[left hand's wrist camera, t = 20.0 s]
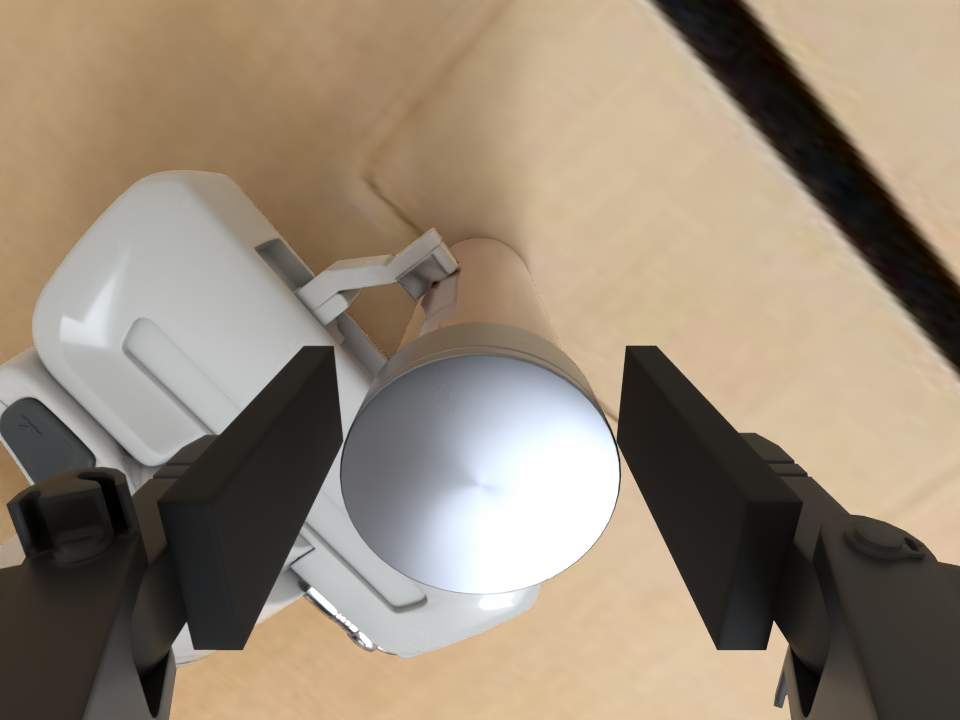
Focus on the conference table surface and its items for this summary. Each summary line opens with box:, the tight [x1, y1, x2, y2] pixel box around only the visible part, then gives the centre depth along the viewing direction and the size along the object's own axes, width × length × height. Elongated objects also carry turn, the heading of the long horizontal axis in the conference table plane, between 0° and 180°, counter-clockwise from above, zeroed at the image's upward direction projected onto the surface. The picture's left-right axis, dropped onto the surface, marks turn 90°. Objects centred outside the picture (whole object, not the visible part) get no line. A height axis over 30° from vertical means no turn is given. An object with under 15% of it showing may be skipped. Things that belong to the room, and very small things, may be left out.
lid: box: [340, 322, 621, 594], centre depth 11 cm, size 5×5×2 cm
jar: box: [397, 238, 564, 352], centre depth 18 cm, size 5×5×15 cm
